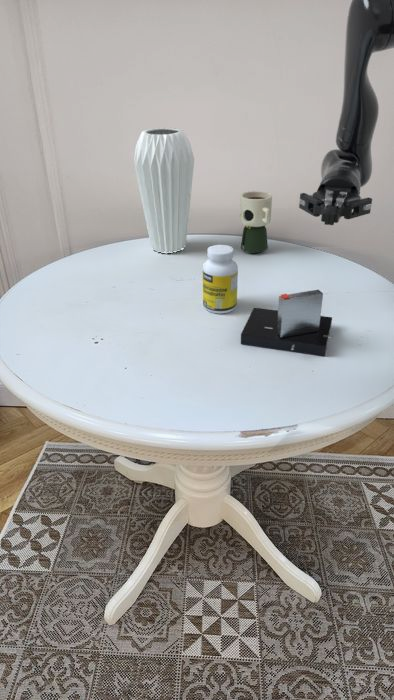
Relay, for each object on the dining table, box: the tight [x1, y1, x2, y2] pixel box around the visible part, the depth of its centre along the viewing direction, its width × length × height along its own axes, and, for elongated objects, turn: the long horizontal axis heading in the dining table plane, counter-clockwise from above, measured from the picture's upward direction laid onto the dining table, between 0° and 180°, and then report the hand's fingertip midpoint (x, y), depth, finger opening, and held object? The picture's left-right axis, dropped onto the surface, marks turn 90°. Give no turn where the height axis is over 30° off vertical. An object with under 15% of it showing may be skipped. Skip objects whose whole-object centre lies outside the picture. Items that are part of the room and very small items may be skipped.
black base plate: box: [240, 306, 333, 357], centre depth 90 cm, size 15×13×2 cm
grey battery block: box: [277, 289, 324, 338], centre depth 87 cm, size 7×2×7 cm, turn 107°
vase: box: [133, 127, 195, 253], centre depth 120 cm, size 13×13×26 cm
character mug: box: [239, 190, 273, 254], centre depth 122 cm, size 11×7×13 cm, turn 26°
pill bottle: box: [202, 244, 239, 314], centre depth 98 cm, size 6×6×12 cm
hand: (329, 219), depth 86 cm, fingers closed
